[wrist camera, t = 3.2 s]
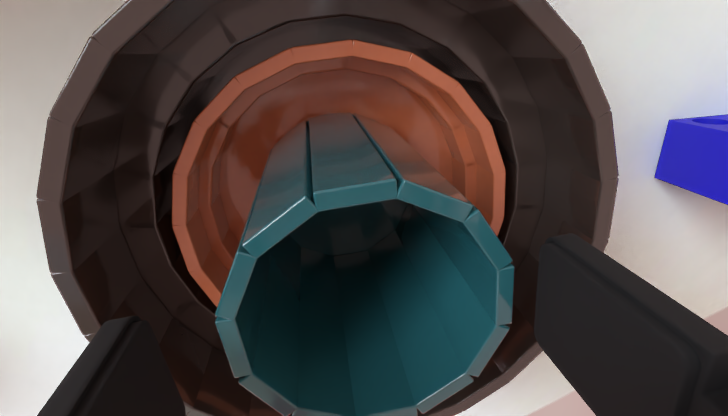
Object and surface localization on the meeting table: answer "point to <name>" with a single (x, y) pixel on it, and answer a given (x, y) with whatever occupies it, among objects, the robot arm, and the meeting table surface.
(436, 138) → the small bowl
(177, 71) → the large bowl
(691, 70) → the meeting table surface
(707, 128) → the blue pipe clamp
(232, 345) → the cup
